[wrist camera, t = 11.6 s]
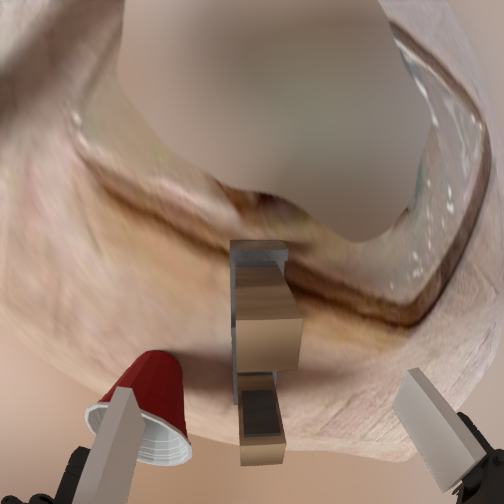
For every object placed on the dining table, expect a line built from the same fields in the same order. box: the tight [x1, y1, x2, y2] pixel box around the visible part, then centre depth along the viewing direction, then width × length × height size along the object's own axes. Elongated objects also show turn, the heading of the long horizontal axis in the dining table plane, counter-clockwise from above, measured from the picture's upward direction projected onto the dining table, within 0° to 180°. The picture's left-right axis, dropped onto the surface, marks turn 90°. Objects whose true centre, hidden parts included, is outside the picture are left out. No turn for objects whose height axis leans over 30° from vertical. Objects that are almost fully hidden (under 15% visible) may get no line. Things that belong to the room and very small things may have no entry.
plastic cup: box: [85, 350, 192, 466], centre depth 25 cm, size 11×11×12 cm
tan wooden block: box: [235, 266, 303, 372], centre depth 21 cm, size 4×4×10 cm
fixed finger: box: [237, 375, 286, 466], centre depth 25 cm, size 4×4×10 cm
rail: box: [230, 240, 289, 405], centre depth 28 cm, size 20×5×4 cm, turn 179°
